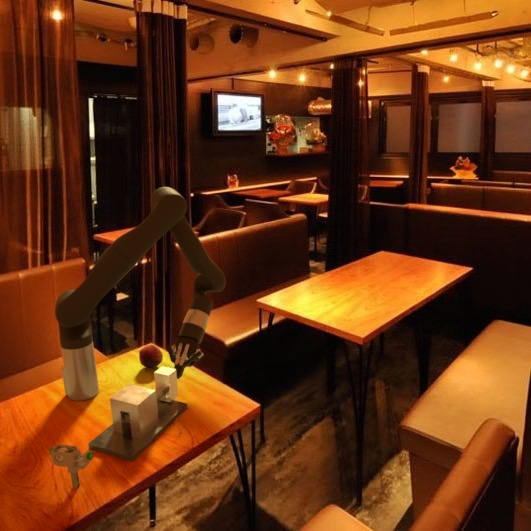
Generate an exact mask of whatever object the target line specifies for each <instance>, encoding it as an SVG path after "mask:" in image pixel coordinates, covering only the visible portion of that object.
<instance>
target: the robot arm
mask: <svg viewBox="0 0 531 531" xmlns="http://www.w3.org/2000/svg"><path fill="white" fill-rule="evenodd" d="M150 206H151V209H152V211H151V212H150V214H148V216H147V217H146V218H145V219H144V220H143V221H142V222H141V223H140V224H139V225H137V226H135V227H134V228H133V229H130V230H129V231H127V232H125V233H123V234H121V235H120V236H118V237H117V238H116V239H115V240H114V241H112V243H110V244H109V246H108V247H107V248H106V249H105V250H104V251H103V252H102V253H101V255H100V256H99V257H98V259H97V261H96V262H95V263H94V265H93V266H92V268H91V269H90V272H89V273H88V275H87V277H86V278H85V279H84V280H83V281H82V283H80V285H78V287H77V288H75V289H68V290H66V291H64V292H62V293H60V295H58V297H57V299H56V302H55V307H54V315H55V319H56V321H57V323H58V333H59V334H58V335H59V336H58V337H59V344H60V349H61V351H60V352H61V355H62V364H63V366H62V367H61V372H62V380H63V381H62V382H63V386H64V394H65V396H68V399H70V400H71V401H75V402H77V401H78V402H79V401H85V400H89V399H92V398H94V397H95V396H97V395H98V393H99V391H100V386H99V380H98V371H97V364H96V355H95V348H94V341H93V340H94V339H93V330H92V329H93V328H92V324H91V313H92V312H93V311H94V309H95V308H96V307H97V306H98V304H99V303H100V301H102V299H103V298H104V297H105V296H106V295H107V294H108V293H109V292H110V291H112V289H113V288H114V287H115V286H116V285H117V284H118V283H120V281H121V280H122V279H123V278H124V277H125V276H126V275H127V274H128V273H129V272H131V270H132V269H133V268H134V267H135V266H136V265H137V263H138V262H140V260H142V258H143V257H144V256H145V255H146V254H147V252H149V251H150V249H151V248H152V247H153V246H154V245H155V244H156V243H157V242H158V241H159V240H160V239H161V238H162V237H163V236H164V235H165V234H167V233H168V232H169V231H170V233H171V234H172V236H173V238H174V240H175V242H176V244H177V245H178V248H179V249H180V251H181V253H182V255H183V257H184V259H185V260H186V262H187V264H188V266H189V267H190V269H191V270H192V271H193V272H194V273H197V274H196V276H194V281H193V292H192V300H191V302H190V305H189V308H188V311H187V312H186V315H185V317H184V319H183V322H182V324H181V327H180V330H179V333H178V337H177V339H176V340H175V342H174V344H171V345H169V344H168V345H167V346H166V349H167V352H168V353H167V354H168V357H169V359H170V361H171V363H173V364H174V367H173V369H176V373H177V380H179V379H180V378H182V376H183V374H184V372H185V369H186V368H188V367H189V368H191V367H193V366H194V365H195V364H196V363H198V362H199V361H200V360H201V359H202V358H204V357H205V354H204V353H203V352H202V351H201V343H202V341H203V338H204V334H205V333H206V329H207V326H208V323H209V319H210V318H209V317H210V315H211V311H212V309H213V307H214V300H213V299H212V298H211V297H210V296H207V293H219V292H222V291H223V290H224V289H225V287H226V284H227V280H226V276H225V273H224V272H223V271H222V269H221V268H220V267H219V266H218V265H217V264H216V262H214V261H213V260H212V259H211V258H210V256H209V254H208V252H207V250H206V248H205V246H204V245H203V243H202V242H201V240H200V239H199V236H197V234H196V232H195V231H194V230H193V228H192V226H191V225H190V223H189V222H188V219H187V218H186V216H185V214H186V213H187V209H188V204H187V199H185V198H184V196H182V195H181V193H179V192H178V191H177V190H176V189H174V188H172V187H169V186H162V187H158V188H157V189H155V190H154V191H153V192H152V194H151V197H150Z"/></svg>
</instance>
